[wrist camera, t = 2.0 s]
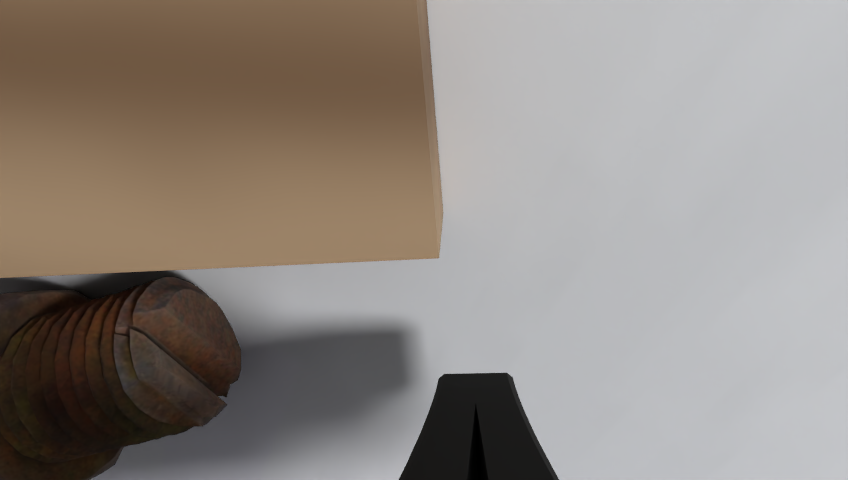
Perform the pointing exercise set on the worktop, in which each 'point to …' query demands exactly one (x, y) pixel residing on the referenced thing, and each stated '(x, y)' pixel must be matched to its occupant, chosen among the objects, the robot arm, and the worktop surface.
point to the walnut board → (215, 134)
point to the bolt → (106, 374)
